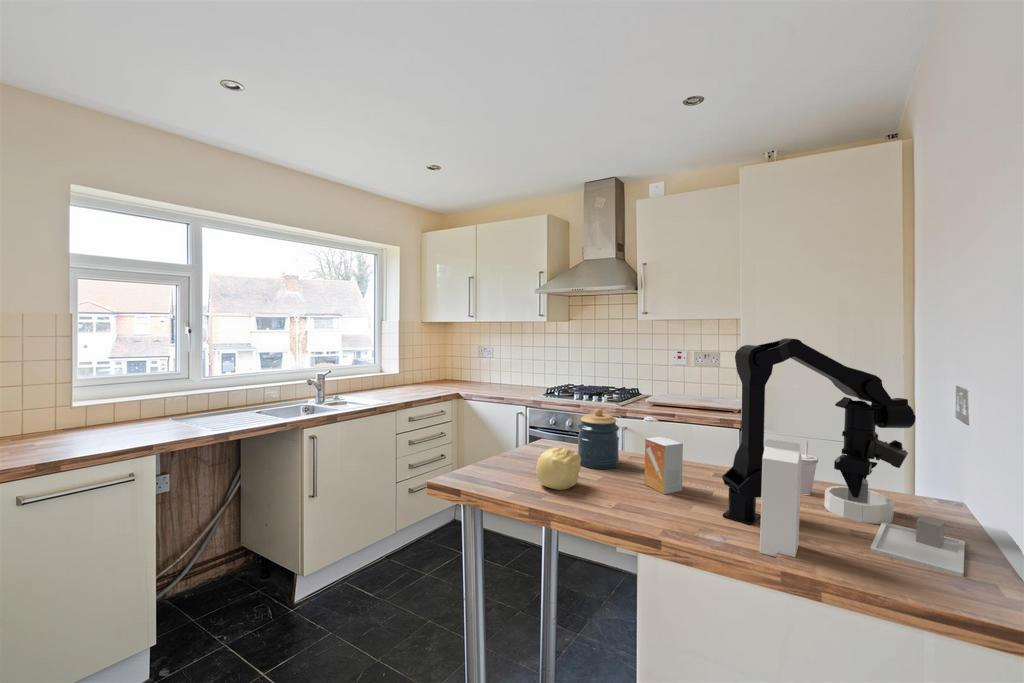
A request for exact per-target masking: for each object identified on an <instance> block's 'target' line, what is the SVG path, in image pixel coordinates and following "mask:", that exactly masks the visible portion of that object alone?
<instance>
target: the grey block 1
mask: <svg viewBox="0 0 1024 683" xmlns="http://www.w3.org/2000/svg"><path fill="white" fill-rule="evenodd" d="M868 490H869V481H868V479H866V480H865V479H863V483H862V487H861V490H860V494H859V497H858V498H856V497H853V496H852V495H851V492H850V490H849V488H848V495H847V496H848V500H851V501H857V502H862V503H868Z"/></svg>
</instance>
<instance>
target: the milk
mask: <svg viewBox="0 0 1024 683" xmlns="http://www.w3.org/2000/svg"><path fill="white" fill-rule="evenodd" d="M801 454H802V453H801V444H800V443H799V442H793V441H786V440H778V439H771V438H766V439H764V453H763V458H762V493H761V497H760V498H761V499H760V500H761V501H760V502H761V503H760V504H761V505H760V515H761V517H760V529H759V530H760V536H759V537H760V539H759V553H760V554H763V555H766V556H770V557H774V558H777V557H778V554H781V555H784V556H788V557H792V558H796V556H797V552H798V548H799V541H800V513H801V512H800V509H801V495H800V483H801Z"/></svg>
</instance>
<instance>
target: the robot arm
mask: <svg viewBox="0 0 1024 683" xmlns="http://www.w3.org/2000/svg"><path fill="white" fill-rule="evenodd" d="M734 358H735V359H734V361H735V367H736V371H737V374H738V377H739V379H740V382H741V386H742V387H741V421H740V422H741V423H740V445H739V447H738V448H737V450H736V452H735V453H734V458H733V464H732V466H731V467H730V469H728V470H727V471H726V472H725V473H724V474H723V475H722V476H721V478H722V480H723V483H724V485H725V486H727V487H728V503H727V504H728V507H727V510H726V511H724V513H722V517H723V518H727V519H730V520H734V521H736V522H741V523H744V524H748V525H753V524H755V523H756V522H758V520H759V519H761V513H757V498H761V493H762V458H763V453H764V449H765V415H766V414H765V409H766V408H765V407H766V403H765V402H766V385H767V384H768V381H769V380H770V377H771V376H772V374H773V369H774V365H777V364H778V365H779V364H780V363H784V362H785V361H787V360H789V359H790V360H793V361H795V362H797V363H799V364H801V365H803V366H805V367H806V368H808V369H810V370H812V371H814V372H815V373H817V374H819V375H821V376H823V377H825V378H827V379H828V380H829V381H831V383H832V384H833V386H834V387H836V388H837V389H838V390H839V391H841V392H842V393H843V394H844V395H846V396H849V397H846V396H844V397H842V398H841V399H840V400H838V401H837V402H836V403H835V404H834V406H835V407H837V408H841V409H844V429H843V431H842V434H841V436H842V437H843V447H842V448H841V455H839V456H838V457H837V458H836V459H835V460H834V461H833V462H834V465H833V467H834V470H836V471H839V472H840V473H841V475H842V477H843V479H844V481H845V484H846V487H848V488H849V490H850V492H851V495H852V496H853V497H856V498H858V497H859V494H860V490H861V487H862V483H863V479H865V480H867V476H870V475H871V474H872V472H873V470H872V469H874V468H876V467H877V466H878V462H875V461H880V460H881V461H883V462H884V463H885V462H886V463H888V464H890V465H891V466H892V467H894V468H897V469H898V468H899V469H900V468H901V466H902V465H903V463H904V461H905V459H906V458H907V456H908V454H909V452H908V451H907V450H906V449H903V447H904V446H903V443H902V442H901V441H899V440H895V439H894V440H892V441H890V442H887V441H883V440H881V439H879V434H878V433H877V432H876V427H878V428H880V429H910V428H911V427H913V426H914V424H915V423H916V415H915V412H914V410H913V408H912V407H911V406H910V405H909V399H907V398H902V397H894V398H892V397H891V396H890V394H889V393H888V392H887V390H886V389H885V387H884V386H883V380H882V379H881V378H880V377H879V376H877V375H876V374H872V373H868V372H866V371H863V370H860V369H856V368H852V367H849V366H846V365H844V364H842V363H841V362H839V361H837V360H835V359H833V358H832V357H829V356H828V355H826V354H824V353H822V352H821V351H818V350H816V349H815V348H812V347H811V346H809V345H807V344H805V343H804V342H802V340H800V339H797V338H787V337H786V338H781V339H779V340H776V341H773V342H767V343H762V344H758V345H754V344H753V345H752V344H744V345H742V346H740V347H739V348H738V349H737V350H736V351H735V356H734ZM851 397H852V398H853V397H854V398H857V399H858V400H853V399H852V398H851ZM869 403H870V404H869ZM871 460H875V461H871Z"/></svg>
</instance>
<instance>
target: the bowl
mask: <svg viewBox="0 0 1024 683" xmlns="http://www.w3.org/2000/svg"><path fill="white" fill-rule="evenodd" d="M847 495H848V486H846V485H845V486H841V485H835V486H828V487H827V488H826V489H825V490H824V508H825V509H827V511H829V513H831V514H833V515H836V516H838V517H841V518H844V519H846V520H851V521H855V522H860V523H865V524H873V525H874V524H876V525H881V523H882V522H886V523H891V524H892V522H893V519H894V513H895V512H894V508H895V507H894V506H895V501H894V500H893V499H891V498H890V497H889V496H887V495H885V494H881V493H879V492H876V491H873V490H870V489H868V503H862V502H857V501H851V500H848V496H847Z"/></svg>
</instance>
